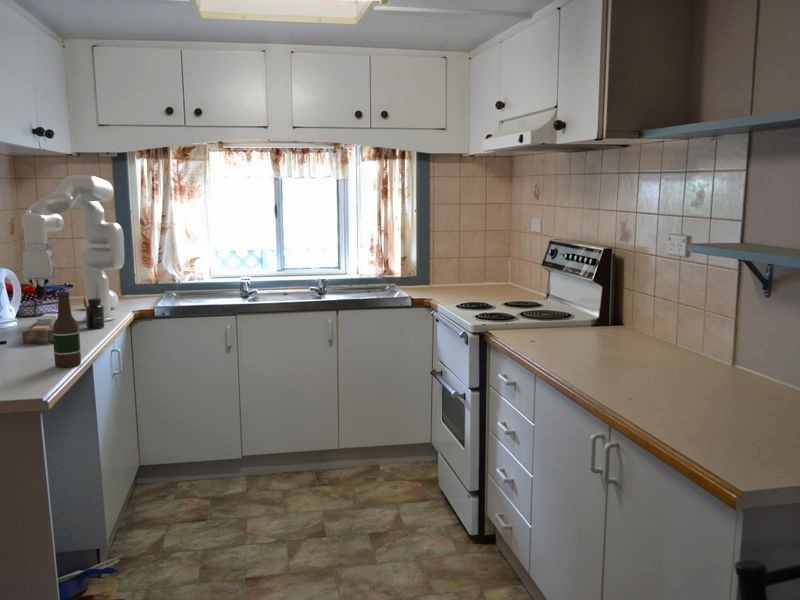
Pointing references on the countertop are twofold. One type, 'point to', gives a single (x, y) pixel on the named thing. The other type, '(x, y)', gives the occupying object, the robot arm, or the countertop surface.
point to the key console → (37, 335)
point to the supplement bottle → (94, 314)
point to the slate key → (45, 321)
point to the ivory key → (51, 316)
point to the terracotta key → (41, 328)
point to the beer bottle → (66, 335)
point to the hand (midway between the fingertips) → (40, 296)
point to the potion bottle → (112, 299)
